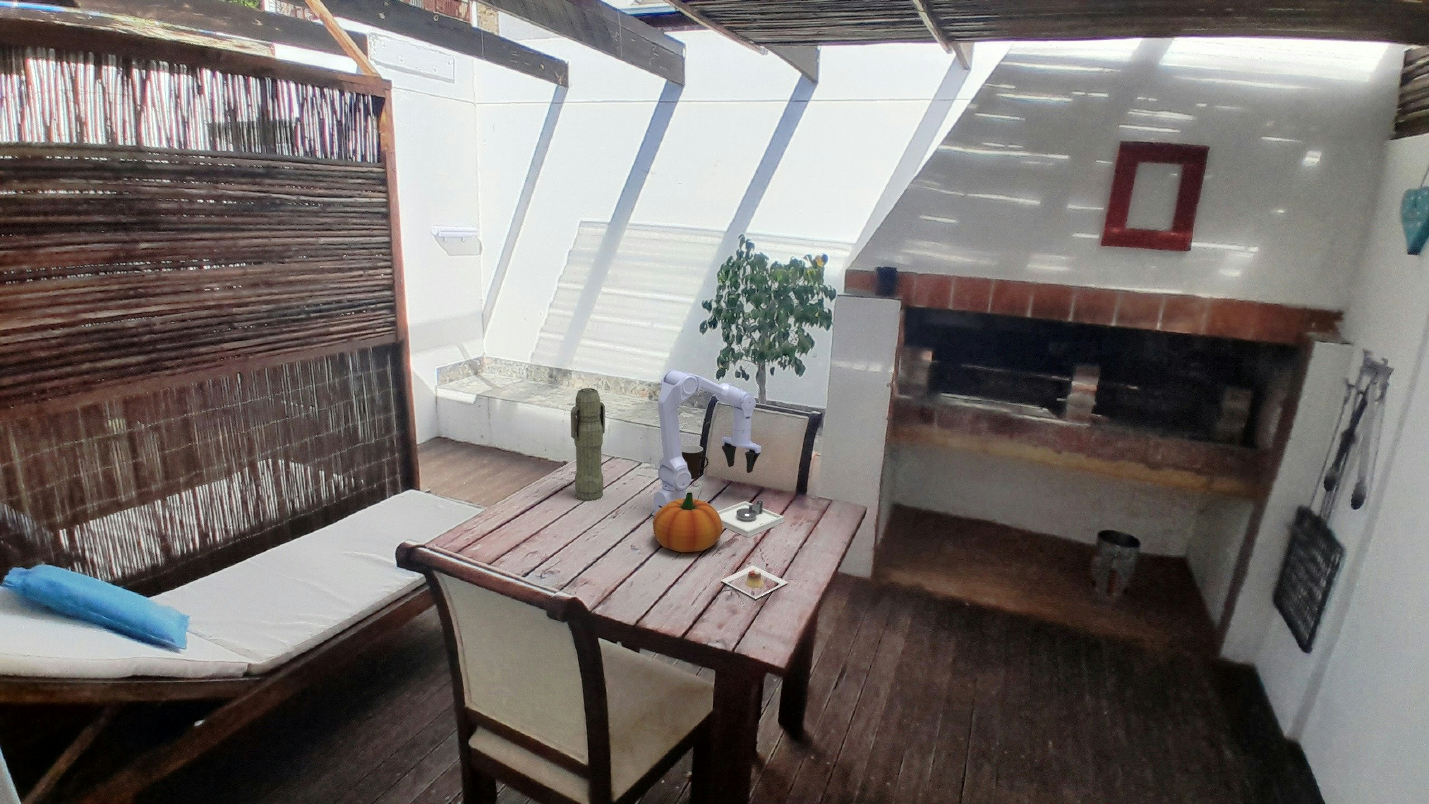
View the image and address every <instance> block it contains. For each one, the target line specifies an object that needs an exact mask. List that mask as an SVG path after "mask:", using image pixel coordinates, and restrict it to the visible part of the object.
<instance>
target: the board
mask: <svg viewBox="0 0 1429 804" xmlns="http://www.w3.org/2000/svg"><path fill="white" fill-rule="evenodd" d="M753 504H754V503H751V502H748V501H742V502H739V503H736V504H734V505H731V506H728V507H726V508H723V509H720V510H716V511H717V513H718V514H719V516H720V518H721V522H722V528H725V529H728V530H730V531H732V532H735V533H737V534H739V535H741V536H743V537H746V538H750V537H752V536H754V535H758V534H759V533H761V532H764V531H767V530H770V529H772V528H774V527H776V526H779V525H781V524H783V523H785V516H784V515H782V514H781V515H780V514H779V513H775V512H773V511H771V510H769V509H766V508H762V512H761V513H757V515H756V519H754V520H750V521H745V520H740V519H738V518H737V517H736V513H737V510H739V509H742V508H749V506H750V505H753Z"/></svg>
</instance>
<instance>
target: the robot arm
mask: <svg viewBox="0 0 1429 804" xmlns="http://www.w3.org/2000/svg"><path fill="white" fill-rule="evenodd" d="M660 382H661V389H660V392H659V395H658V398H657V399H658V400H657V406H658V408H657V409H658V416H659V424H660V435H661V443H662V453H663V455H662V456H663V457H662V458H661V459H660V460H659V466H658V471H657V476H658V479H659V480H660V481H661V488H660V489H659V490H657V491H655V493H654V495H653V512H652V513H651V515H652V516H654V517H655V514H656V513H657V512H658V511H659V510H660V509H661V508H662V507H664V506H665V505H667V504H668V503H670V502H672V501H675V500H677V499H685V498H686V495H687V489H688V487H689V485H690V484H691V482H692V479H691V474H690V472H689V471H688V467H687V464H686V462H685V460H684V459H683V457H682V450H681V446H682V442H681V434H680V432H681V431H680V421H679V411H678V407H679V406H680V405H681V404H683V402H686V401H687V400H688V399H689V398H690V397H692V395H694V394H696V392H697V393H698V392H700V391H701V390H702V391H705V392H708V393H711V394H714V395H715V398H716V400H717V401H719V402H720V403H721V402H722V403H724V404H726V405H729V406H731V407H732V408H733V416H732V417H733V419H732V437H731V436H722V437H721V444H723V445H722V446H721V449H722V451H723V453H724V456H725V459H726V463H727V466H728V468H732V467H734V465H735V456H736V451H737V448H739V449H743V450H747V451H746V452H744V455H745V459H746V474H747V473H748V474H750V473H752V472H753V471H754V467H755V464H756V461H757V459H758V457H760V455H761V453H762V446H761V445H759V444H757V443H754V442H753V441H752V440H751V435H752V416H753V415H754V409H755V408H756V405H757V401H756V398H755V396H754V395H753V393H750V392H747V391H744V389H743V388H741V387H739V388H737V387H736V386H733V383H731V382H728V381H727V382H722V383H720V384H718V383H715V382H714V381H711V380H710V379H708V378H705V377H704V376H700V375H697V374H694V373H690V372H686V371H680V370H679V369H675V368H674V369H673V368H672V369H670V370H668V371H667V372H666V373H665V374H664V375H663V376H662V377H661V379H660Z"/></svg>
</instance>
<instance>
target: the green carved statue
mask: <svg viewBox="0 0 1429 804" xmlns="http://www.w3.org/2000/svg"><path fill="white" fill-rule="evenodd" d="M576 393H577V394H576V396H575V406H573V407H572V408H571V409H570V435H571V436H570V437H571V438H572V439H573V440H574V442H573V443H574V446H575V462H576V465H575V466H576V472H575V475H574V489H575V497H577V498H578V499H577V498H576V499H577V500H579V499H580V501H583V500H585V502H591V501H592V500H593V501H597V499H598V500H600V499H602V498H603V497H604V474H603V471H602V445H603V443H604V441H603V440H604V439H603V436H604V434H605V431H606V406H605V404H604V403H603V402H602V401H601V397H600V395H599V394H600V393H599V392H598V390H596V388H591V387H590V388H589V387H586V388H585V387H584V388H580V389H579V390H578V391H577V392H576ZM602 496H603V497H602ZM601 497H602V498H601ZM599 498H600V499H599Z"/></svg>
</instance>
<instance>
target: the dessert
mask: <svg viewBox="0 0 1429 804" xmlns="http://www.w3.org/2000/svg"><path fill="white" fill-rule="evenodd" d="M745 575H747V577H746V580H745V582H744V585H746V586H747V587H749V588H752V589H757V588H762V586H763V585H764V581H763V578H762V577H763V576H764V577H765V578H768V579H770V580H771V581H773V582H775V583H777V584H779V585H777V586H775V587H773V588H770V589H769V590H766V591H765V592H763V593H761V594H759V595H757V596H754V595H752V594H751V593H749V592H746V591H745V590H743V589H742V588H739V587H736V586H735V585H733V584H731V583H730V582H732V581H734V580H736V579H738V578H740V577H742V576H745ZM720 581H721V582H723V583H724V584H726V585H729V586H730V587H732V588H734V589H736V590H738V591H740V592H741V593H742V594H743V593H744V594H745V595H748V596H749V597H751V598H753V599H755V600H757V599H758V598H760V597H763V596H765V595H767V594H769V593H770V592H773V591H774V590H776V589H779V588H780V587H782V586H784V585H786V584H788V583H789V582H788V581H786V580H784V579H783V578H780V577H778V576H776V575H775V574H772V573H770V572H767V571H765V570H763V569H762V568H760V567H757V566H755V565H753V564H752V565H750V566H748V567H746V568H744V569H741V570H740V571H737V572H735V573H733V574H731V575H729V576H727V577H724V578H722V579H720Z"/></svg>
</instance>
